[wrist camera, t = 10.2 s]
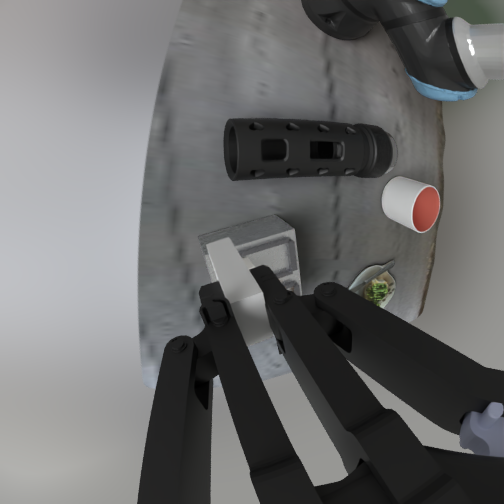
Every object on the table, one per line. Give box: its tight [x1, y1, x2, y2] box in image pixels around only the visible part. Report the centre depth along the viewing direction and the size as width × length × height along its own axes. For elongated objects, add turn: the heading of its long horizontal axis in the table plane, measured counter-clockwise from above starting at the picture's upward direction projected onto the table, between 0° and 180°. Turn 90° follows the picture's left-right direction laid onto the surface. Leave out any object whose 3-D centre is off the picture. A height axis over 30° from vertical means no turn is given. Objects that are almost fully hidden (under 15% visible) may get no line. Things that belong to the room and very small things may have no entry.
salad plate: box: [347, 261, 395, 308], centre depth 63 cm, size 19×18×5 cm
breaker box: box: [198, 215, 302, 296], centre depth 48 cm, size 14×16×9 cm
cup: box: [382, 176, 440, 233], centre depth 52 cm, size 10×10×10 cm
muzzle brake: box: [224, 118, 398, 181], centre depth 41 cm, size 10×28×10 cm, turn 91°
